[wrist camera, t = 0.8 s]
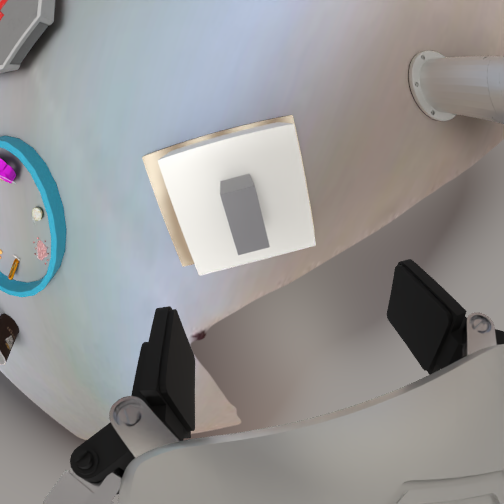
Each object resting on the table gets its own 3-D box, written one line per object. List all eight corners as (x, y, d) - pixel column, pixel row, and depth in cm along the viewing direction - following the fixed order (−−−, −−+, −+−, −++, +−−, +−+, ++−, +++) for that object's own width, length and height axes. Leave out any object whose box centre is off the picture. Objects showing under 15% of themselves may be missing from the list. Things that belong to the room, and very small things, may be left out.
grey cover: (278, 121, 32) (308, 125, 21) (298, 220, 39) (330, 267, 27) (171, 150, 33) (144, 170, 21) (202, 245, 39) (196, 302, 28)
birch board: (289, 115, 34) (292, 115, 32) (310, 227, 42) (314, 232, 40) (145, 154, 34) (141, 157, 32) (184, 260, 42) (182, 266, 41)
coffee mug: (22, 342, 48) (7, 370, 40) (-2, 325, 45) (-19, 351, 37) (22, 314, 44) (3, 344, 36) (-4, 295, 42) (-25, 322, 33)
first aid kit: (-27, 38, 15) (17, 93, 25) (-50, 37, 9) (-12, 95, 19) (28, -35, 11) (85, 4, 21) (8, -44, 4) (63, -10, 15)
